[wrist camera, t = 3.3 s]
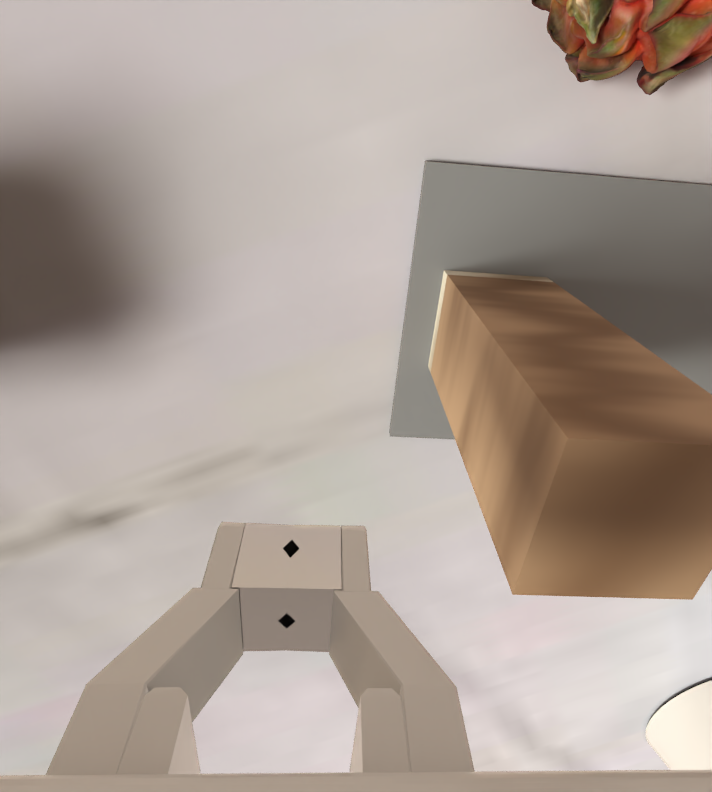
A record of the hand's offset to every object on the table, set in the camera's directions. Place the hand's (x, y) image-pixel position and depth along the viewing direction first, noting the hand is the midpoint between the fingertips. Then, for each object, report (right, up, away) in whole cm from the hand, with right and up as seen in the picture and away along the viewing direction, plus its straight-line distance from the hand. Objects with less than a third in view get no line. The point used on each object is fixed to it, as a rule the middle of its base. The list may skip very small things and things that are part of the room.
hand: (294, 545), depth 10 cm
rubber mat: (+16, +7, +15) cm, 22 cm away
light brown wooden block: (+8, +7, +14) cm, 17 cm away
